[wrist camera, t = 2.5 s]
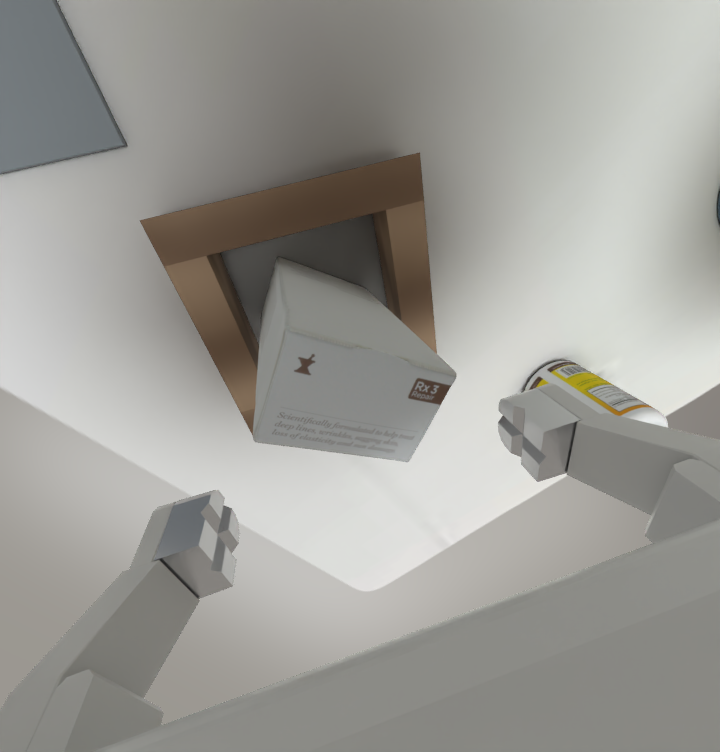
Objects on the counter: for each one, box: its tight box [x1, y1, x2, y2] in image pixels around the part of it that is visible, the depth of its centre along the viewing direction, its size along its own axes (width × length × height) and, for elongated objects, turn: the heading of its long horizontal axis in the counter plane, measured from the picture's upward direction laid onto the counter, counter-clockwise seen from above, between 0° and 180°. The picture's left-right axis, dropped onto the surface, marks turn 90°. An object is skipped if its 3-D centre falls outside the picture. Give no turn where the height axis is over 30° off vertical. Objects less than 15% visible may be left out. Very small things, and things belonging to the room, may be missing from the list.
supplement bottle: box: [524, 361, 668, 428], centre depth 24 cm, size 6×6×10 cm
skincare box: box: [253, 257, 456, 462], centre depth 15 cm, size 6×4×12 cm
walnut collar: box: [140, 153, 437, 435], centre depth 19 cm, size 13×13×3 cm
